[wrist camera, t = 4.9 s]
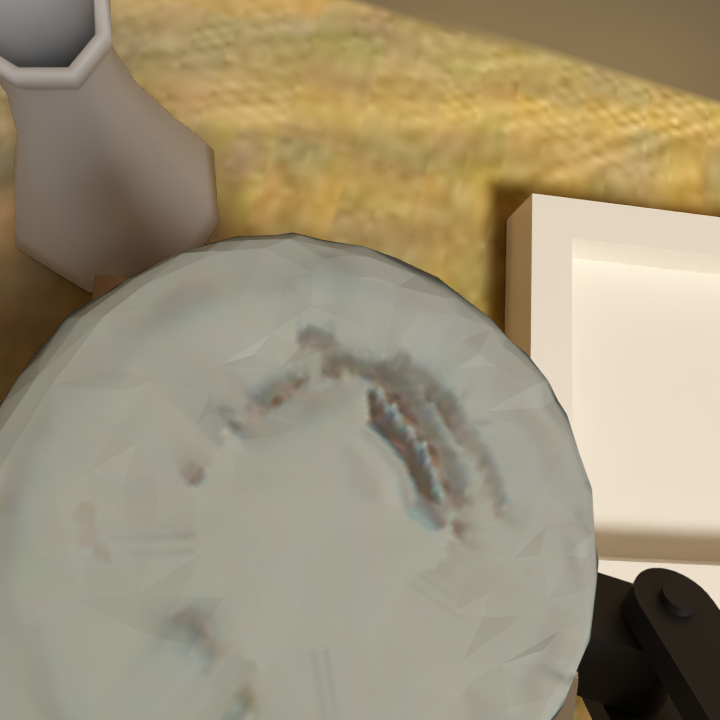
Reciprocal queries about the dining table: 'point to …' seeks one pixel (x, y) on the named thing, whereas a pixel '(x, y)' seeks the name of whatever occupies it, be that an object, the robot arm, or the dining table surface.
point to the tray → (629, 369)
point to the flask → (95, 149)
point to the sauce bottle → (289, 501)
